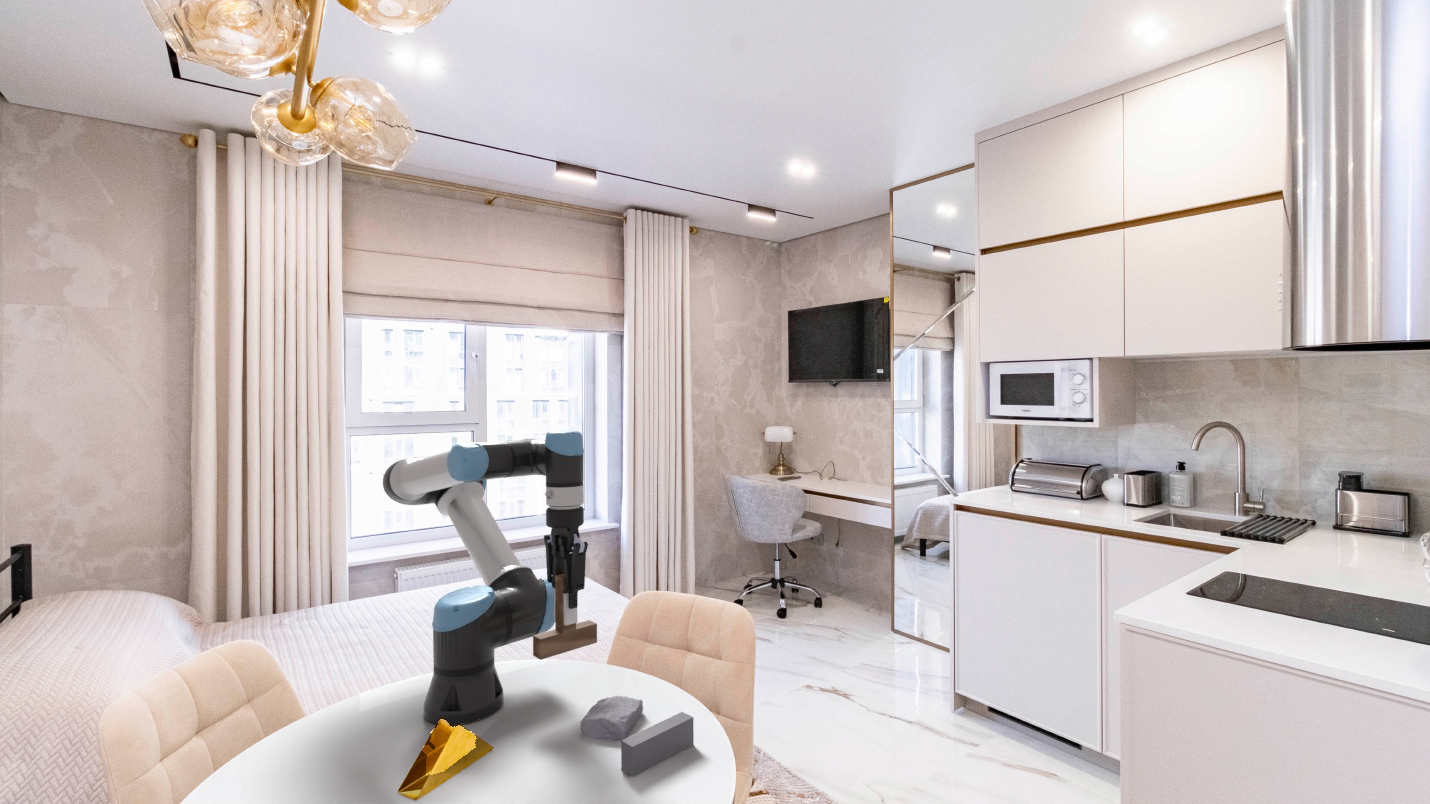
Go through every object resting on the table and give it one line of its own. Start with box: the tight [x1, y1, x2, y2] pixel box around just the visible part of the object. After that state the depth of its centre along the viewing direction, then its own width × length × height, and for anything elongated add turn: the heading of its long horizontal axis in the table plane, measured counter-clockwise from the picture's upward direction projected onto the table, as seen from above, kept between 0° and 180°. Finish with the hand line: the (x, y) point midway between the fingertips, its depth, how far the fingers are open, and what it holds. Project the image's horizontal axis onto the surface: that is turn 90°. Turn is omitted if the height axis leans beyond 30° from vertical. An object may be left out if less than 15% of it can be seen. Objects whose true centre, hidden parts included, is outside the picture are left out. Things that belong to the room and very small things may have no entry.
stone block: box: [580, 695, 644, 742], centre depth 124 cm, size 12×5×10 cm
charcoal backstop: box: [620, 711, 695, 778], centre depth 112 cm, size 3×14×5 cm, turn 136°
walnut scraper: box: [532, 573, 598, 660], centre depth 131 cm, size 3×13×15 cm, turn 134°
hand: (565, 621), depth 131 cm, fingers closed on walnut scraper, 3 cm apart
